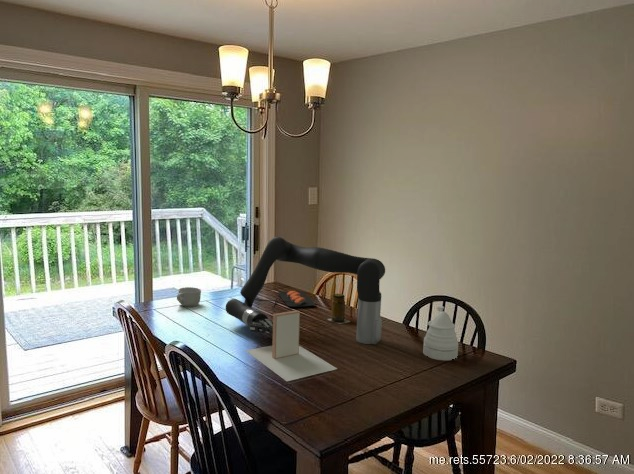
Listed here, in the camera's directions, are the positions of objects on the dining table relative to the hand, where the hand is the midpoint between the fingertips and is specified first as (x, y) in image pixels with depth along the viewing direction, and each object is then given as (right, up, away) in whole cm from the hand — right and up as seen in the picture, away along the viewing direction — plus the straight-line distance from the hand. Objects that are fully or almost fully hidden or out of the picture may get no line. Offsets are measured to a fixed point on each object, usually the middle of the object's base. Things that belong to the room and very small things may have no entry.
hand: (275, 332), depth 178 cm
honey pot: (+62, -9, +5) cm, 63 cm away
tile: (+4, -7, -5) cm, 10 cm away
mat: (+6, -9, -8) cm, 13 cm away
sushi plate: (-3, +1, +70) cm, 70 cm away
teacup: (-48, +1, +56) cm, 74 cm away
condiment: (+25, -3, +41) cm, 48 cm away
